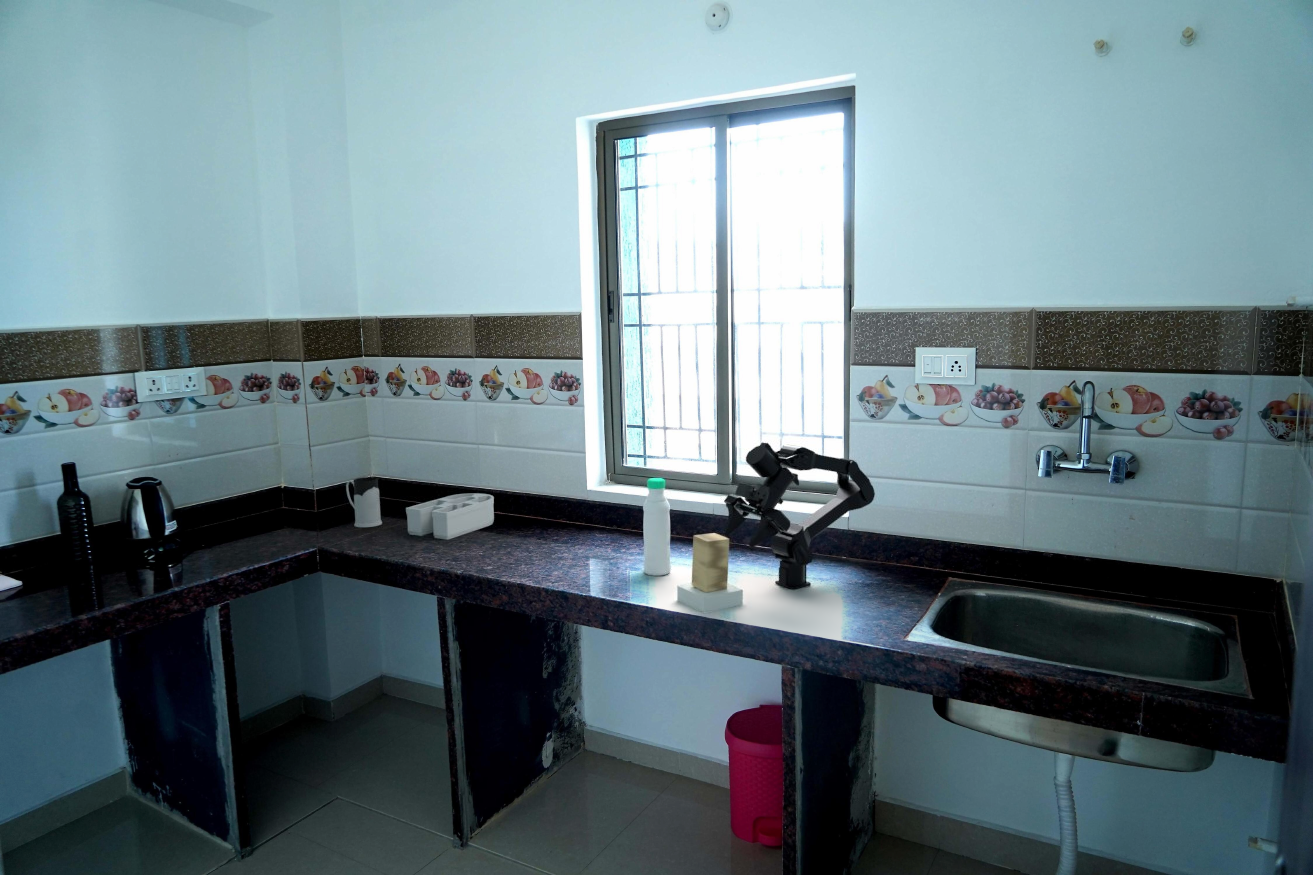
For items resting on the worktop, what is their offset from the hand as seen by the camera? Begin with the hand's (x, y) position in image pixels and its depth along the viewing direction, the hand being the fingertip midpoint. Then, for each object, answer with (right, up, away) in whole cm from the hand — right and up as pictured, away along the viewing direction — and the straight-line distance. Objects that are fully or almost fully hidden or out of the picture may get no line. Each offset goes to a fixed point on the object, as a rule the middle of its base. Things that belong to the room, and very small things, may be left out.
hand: (737, 541), depth 209 cm
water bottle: (-19, -11, +22) cm, 31 cm away
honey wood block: (-7, -10, -2) cm, 13 cm away
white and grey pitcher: (-116, -4, +82) cm, 142 cm away
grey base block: (-7, -15, -2) cm, 16 cm away
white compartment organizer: (-83, -5, +75) cm, 112 cm away
